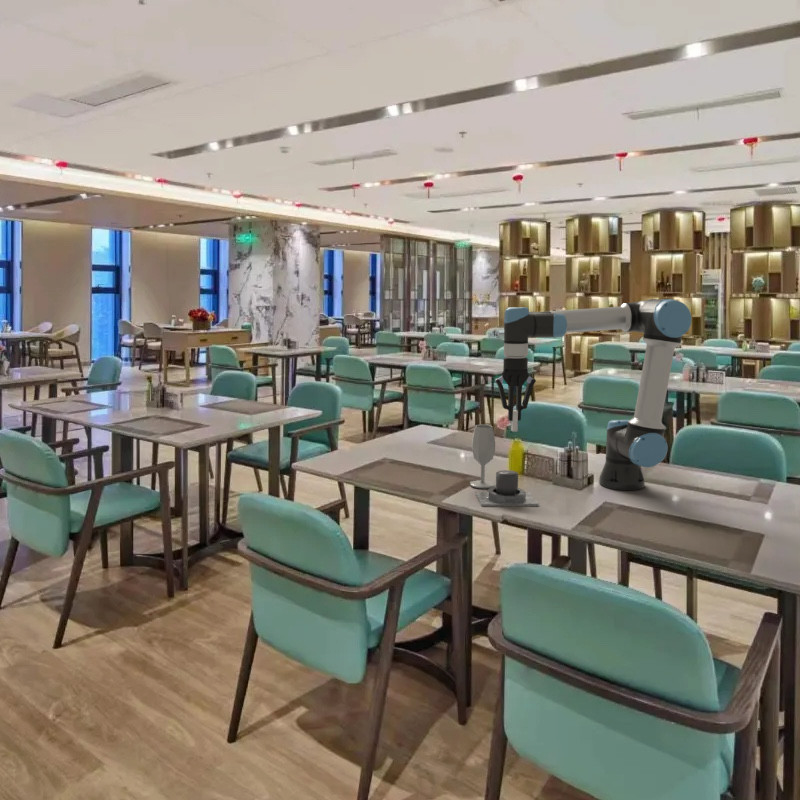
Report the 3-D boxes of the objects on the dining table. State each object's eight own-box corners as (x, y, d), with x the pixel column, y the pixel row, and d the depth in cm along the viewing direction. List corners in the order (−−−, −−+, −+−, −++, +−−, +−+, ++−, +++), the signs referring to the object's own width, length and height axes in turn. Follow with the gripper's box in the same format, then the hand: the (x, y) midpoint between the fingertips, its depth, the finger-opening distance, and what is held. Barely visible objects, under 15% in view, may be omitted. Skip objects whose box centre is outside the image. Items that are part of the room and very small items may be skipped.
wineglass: (475, 490, 249) (476, 428, 246) (466, 483, 257) (467, 424, 254) (499, 488, 251) (501, 427, 248) (489, 482, 259) (491, 423, 256)
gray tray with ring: (529, 494, 244) (529, 485, 243) (538, 506, 231) (538, 496, 230) (475, 494, 243) (475, 485, 242) (481, 506, 230) (481, 496, 230)
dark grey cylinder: (515, 494, 240) (515, 469, 239) (519, 500, 233) (520, 475, 232) (493, 494, 240) (494, 470, 239) (497, 500, 233) (498, 475, 232)
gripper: (533, 355, 235) (531, 428, 239) (492, 355, 235) (491, 428, 238) (539, 357, 228) (537, 432, 232) (497, 358, 227) (496, 433, 231)
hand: (514, 430), depth 235 cm, fingers closed
